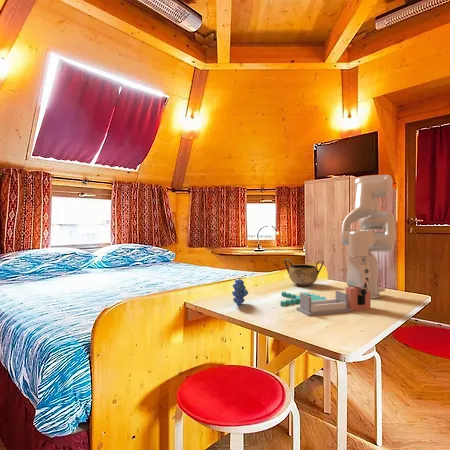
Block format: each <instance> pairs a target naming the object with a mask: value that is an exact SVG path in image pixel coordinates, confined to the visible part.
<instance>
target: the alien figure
mask: <svg viewBox="0 0 450 450" xmlns="http://www.w3.org/2000/svg"><path fill="white" fill-rule="evenodd" d="M302 293H303V294H305V295H308V296H310V297H311V301H317V300H327V298H326V296H321V295H317V294H315V293H314V294H313V293H310V292H302ZM281 297H286V298H288V299H285V300H280V306H281V307H286V306H291V305H296V304H300V295H296V294H293V293H291V292H287V291H281ZM289 298H290V299H289Z"/></svg>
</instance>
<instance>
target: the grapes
mask: <svg viewBox="0 0 450 450" xmlns="http://www.w3.org/2000/svg"><path fill="white" fill-rule="evenodd" d="M244 284H245V282H244V281H243V280H242V279H240V278H236V279H235V281H234V283H233V284H232V288H233V290H232V291H231V294H232V297H233V298H232V300H233V302H234V303H235V304H236V305H237V306H238V307H239V306H241V305H242V304H244V302H245V297H246V296H248V295H249V290H248V289H246V285H244Z"/></svg>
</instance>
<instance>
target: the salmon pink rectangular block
mask: <svg viewBox="0 0 450 450" xmlns="http://www.w3.org/2000/svg"><path fill="white" fill-rule="evenodd" d="M362 291H363V289H362ZM345 293H346V294H348V308H350V309H352V311H358V310H365V309H366V310H367V309H369V310H370V309H371V301H372V300H371V291H369V292H368V293H367V294H366V295H365V305H358V295H359V288H358V287H348V286H346V287H345Z"/></svg>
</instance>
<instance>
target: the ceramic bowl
mask: <svg viewBox="0 0 450 450" xmlns="http://www.w3.org/2000/svg"><path fill="white" fill-rule="evenodd" d="M287 262H288V263H289V266H288V263H287ZM320 262H321V264H320V267H319V269H318V265H319V263H320ZM283 263H284V266H285V267H286V270H287V273H288V276H289V279H290V280H291V282H292V283H294V284H295V285H296V286H301V287H309V286H311V285H313V284H314V283H315V282H317V279H318V276H319V274H320V272H321V270H322V268H323V267H324V263H325V262H324V259H318V261H317V262H316V263H315V265H313V264H302V263H300V264H298V263H296V264H293V262H292V260H291V259H290V258H285V259H284V260H283Z"/></svg>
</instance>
